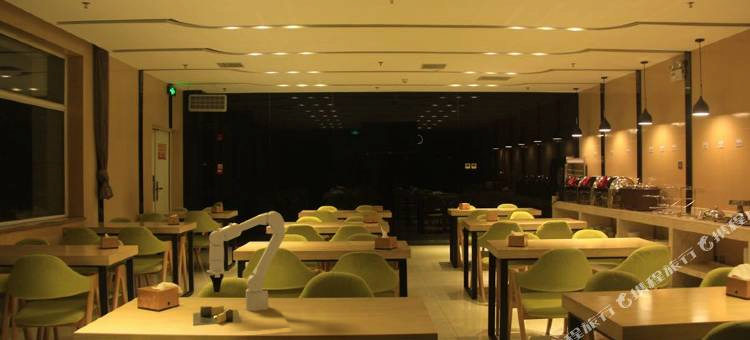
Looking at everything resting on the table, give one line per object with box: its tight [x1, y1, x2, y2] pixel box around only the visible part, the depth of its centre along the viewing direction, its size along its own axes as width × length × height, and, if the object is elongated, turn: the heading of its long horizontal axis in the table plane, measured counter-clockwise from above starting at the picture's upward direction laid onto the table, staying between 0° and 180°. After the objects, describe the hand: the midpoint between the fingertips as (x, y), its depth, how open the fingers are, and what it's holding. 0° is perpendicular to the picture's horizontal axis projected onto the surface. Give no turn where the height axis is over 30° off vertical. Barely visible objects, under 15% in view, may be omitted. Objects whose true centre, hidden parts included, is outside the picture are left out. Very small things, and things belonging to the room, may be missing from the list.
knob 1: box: [199, 305, 225, 316], centre depth 239 cm, size 9×4×4 cm, turn 107°
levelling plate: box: [192, 309, 242, 327], centre depth 234 cm, size 18×22×2 cm
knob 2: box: [217, 308, 234, 323], centre depth 228 cm, size 9×4×4 cm, turn 166°
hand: (216, 292), depth 244 cm, fingers closed
